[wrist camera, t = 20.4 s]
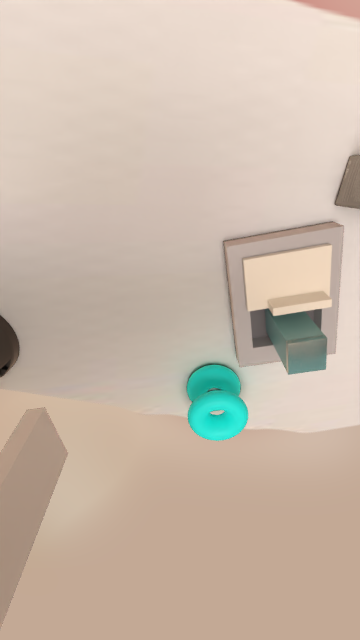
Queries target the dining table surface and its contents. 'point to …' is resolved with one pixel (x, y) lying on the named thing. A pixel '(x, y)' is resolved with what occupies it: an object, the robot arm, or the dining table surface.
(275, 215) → the dining table surface
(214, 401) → the donuts
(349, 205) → the skincare box
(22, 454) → the robot arm
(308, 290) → the shutter
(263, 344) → the socket plate
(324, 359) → the green rectangular box
